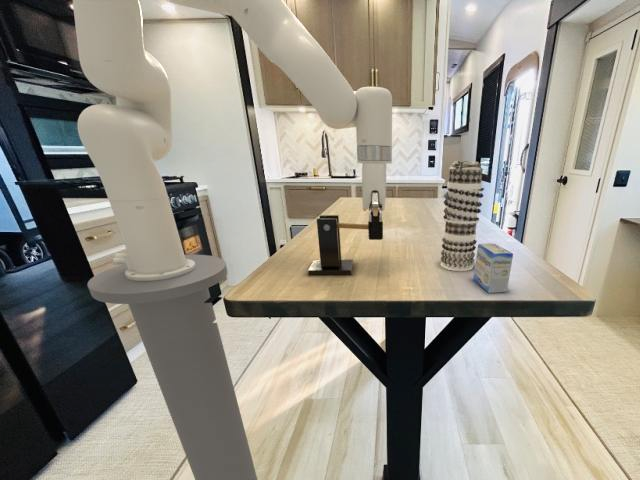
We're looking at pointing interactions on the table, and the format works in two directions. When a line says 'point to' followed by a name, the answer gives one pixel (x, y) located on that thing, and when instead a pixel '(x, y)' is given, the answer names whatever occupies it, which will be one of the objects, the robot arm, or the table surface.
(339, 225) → the flush lever
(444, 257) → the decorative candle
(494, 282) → the medicine box
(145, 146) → the robot arm
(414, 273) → the table surface
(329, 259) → the lever bracket
